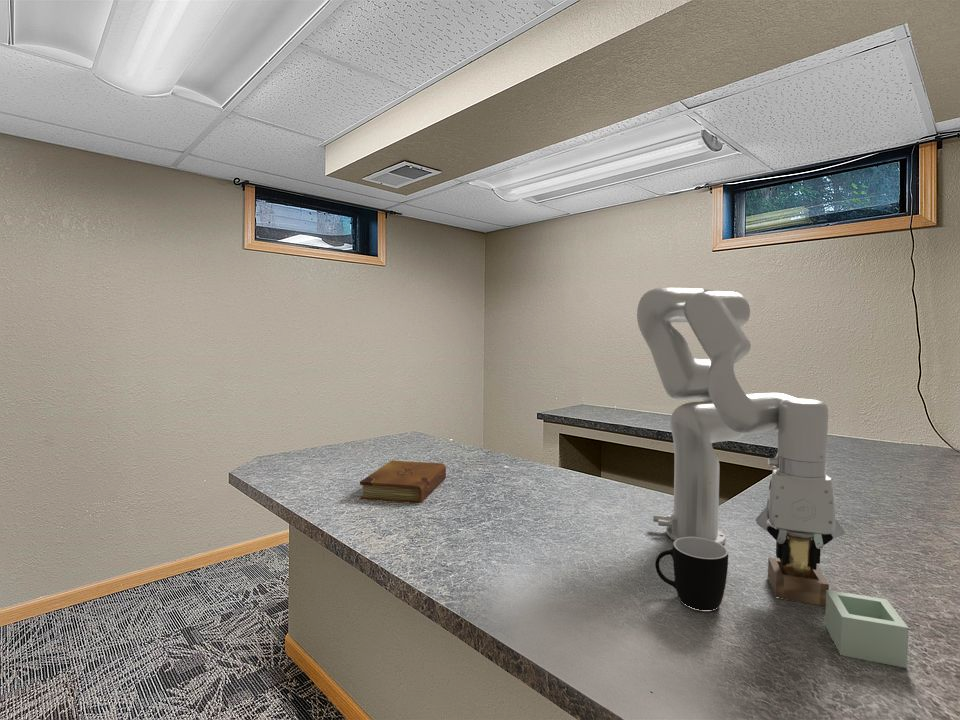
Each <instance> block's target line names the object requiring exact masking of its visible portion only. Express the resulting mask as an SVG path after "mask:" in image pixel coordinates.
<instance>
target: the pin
mask: <svg viewBox="0 0 960 720" xmlns="http://www.w3.org/2000/svg"><path fill="white" fill-rule="evenodd" d="M813 538H814V533H806V532H798V531H789V530H787V534H786V538H785V540H786V544H787V546H788V550H787V565H786V566H784V575H789V576H795V577H802V578H809V579H810V562H811V540H812V539H813Z"/></svg>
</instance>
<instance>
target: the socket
mask: <svg viewBox="0 0 960 720" xmlns="http://www.w3.org/2000/svg"><path fill="white" fill-rule="evenodd" d="M824 618H825V620H824V626H825V627H826V629H827V632H828V634H829V635H830V638H831V640H832V642H833V641H834V642H833V644H834V645H836V646H835V648H836V647H837V648H836V650H837V649H838V650H837V652H838V651H839V652H838V654H839V653H840V654H839V656H842V655H843V656H842V657H847V658H851V659H852V658H853V659H858V660H862V661H863V660H864V661H868V662H874V663H879V664H883V665H884V664H885V665H890V666H895V667H900V668H906V669H907V666H908V665H907V664H908V649H909V646H908V645H909V632H910V630H909V629H910V628H909V626H908V625H907V624H906V622H905V621H904V620H903V618H901V616H900V615H899V614H898V612H897V611H896V610H895V608H894V607H893V605H892V604H891V603H890V602H889V600H888V599H886V598H881V597H875V596H869V595H861V594H854V593H849V592H842V591H836V590H830V589H829V590H826V606H825V617H824Z"/></svg>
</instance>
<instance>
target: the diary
mask: <svg viewBox="0 0 960 720" xmlns="http://www.w3.org/2000/svg"><path fill="white" fill-rule="evenodd" d="M445 479H447V466H446V464H445V463H443V462H442V463H440V462H425V461H423V462H421V461H409V460H391V461H389V462H387V463H386V464H384V465H383V466H381V467H380V468H378V469H377V470H375V471H374V472H372V473H371V474H369V475H368V476H366V477H365V478H363V479H362V480H360V481H359V485H360V486H362V496H360V498H359V499H360V500H364V499H367V501H377V500H382V501H381V502H389V501H395V502H394V503H402V502H409V503H408V504H415V503H421V504H423V502H424V501H425V500H426V499H427V498H428V497H429V496H430V495H431V494H432V493H433V492H434V491H435V490H436V489H437V488H438V487H439V486H440V484H442V483H443V482H444V481H445ZM438 485H439V486H438ZM437 486H438V487H437Z"/></svg>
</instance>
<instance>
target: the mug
mask: <svg viewBox="0 0 960 720" xmlns="http://www.w3.org/2000/svg"><path fill="white" fill-rule="evenodd" d="M665 556H670V557H672V560H673V561H672V563H673V576H674V580H671V579H670V578H668V577H666V575H664V573H663V572H662V570H661V568H660V562H661V560H662V558H663V557H665ZM654 564H655V566H654V567H655V571H656V573H657V575H658V576H659V578H660V579H661V580H662V581H663V582H665V584H667V585H668V586H671V587H672V588H674V589H675V591H676V593H677V596H678V599H679V600H680V602H681V601H682V602H683V603H684V604H686V605H687V606H690V607H692V608H695V609H699V610H713V609H716V608H717V609H718V608H719V607H720V606H721V604H722V601H723V598H724V594H725V589H726V584H727V577H728V566H729V550H728V549H727V547H726V546H724V544H723V545H721V544H720V543H718V542H715V541H713V540H709V539H705V538H700V537H682V538H679V539H677V540H675V541H673V544H672V548H671V549H665V550H663V551H661V552H660V553H659V554H658V555H657V557H656V559H655V563H654ZM682 602H681V603H682ZM683 603H682V604H683ZM684 604H683V605H684ZM687 606H686V607H687ZM717 609H716V610H717Z"/></svg>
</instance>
